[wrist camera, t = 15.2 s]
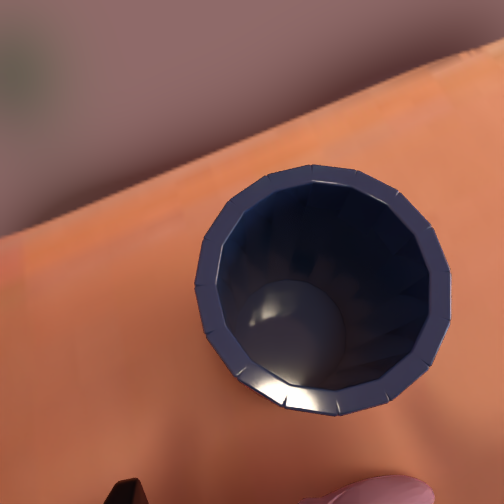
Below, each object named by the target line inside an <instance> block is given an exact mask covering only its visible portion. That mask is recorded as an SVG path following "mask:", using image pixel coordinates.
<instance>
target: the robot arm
mask: <svg viewBox="0 0 504 504" xmlns="http://www.w3.org/2000/svg"><path fill="white" fill-rule="evenodd" d="M104 504H149V503H148V500H147V498H146V495H145V492H144V490H143V487H142V485H141V482H140V480H139V479H138V478H131V479H126V480H121V481H118V482H117V483H116V484H115V485H114V487H113V488H112V490H111V492H110V494H109V495H108V497H107V499H106V500H105V502H104Z"/></svg>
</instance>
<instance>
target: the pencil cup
mask: <svg viewBox="0 0 504 504" xmlns="http://www.w3.org/2000/svg"><path fill="white" fill-rule="evenodd" d="M194 285H195V288H194V290H195V294H196V299H197V303H198V308H199V312H200V317H201V322H202V326H203V331H204V333H205V335H206V338H207V340H208V341H209V343H210V344H211V345H212V347H213V348H214V350H215V351H216V352H217V354H218V355H219V357H220V358H221V359H222V361H223V362H224V364H225V365H226V367H227V368H228V369H229V371H230V372H231V374H232V375H233V376H234V377H235V378H236V379H237V380H238V381H239V382H240V383H242V384H243V385H245V386H246V387H247V388H249V389H251V390H252V391H254V392H256V393H257V394H259V395H260V396H262V397H264V398H265V399H267V400H269V401H270V402H272V403H274V404H276V405H277V406H279V407H283V408H285V409H289V410H295V411H302V412H308V413H315V414H321V415H328V416H343V415H347V414H350V413H354V412H358V411H361V410H365V409H368V408H372V407H376V406H379V405H383V404H386V403H388V402H389V401H393V400H394V399H395V398H396V397H397V396H398V395H400V394H401V393H402V392H403V391H404V390H406V389H407V388H408V387H409V386H410V385H411V384H413V383H414V382H415V381H416V380H417V379H418V378H420V377H421V376H422V375H423V374H424V373H425V372H427V371H428V369H429V367H430V366H432V363H433V361H434V359H435V357H436V355H437V352H438V350H439V348H440V346H441V344H442V341H443V339H444V337H445V335H446V332H447V330H448V328H449V326H450V321H451V273H450V267H449V265H448V262H447V260H446V258H445V255H444V253H443V250H442V248H441V245H440V243H439V241H438V238H437V236H436V233H435V231H434V229H433V227H431V224H430V223H429V222H428V221H427V220H426V219H425V218H424V217H423V216H422V215H421V214H420V212H419V211H418V210H417V209H416V208H415V207H414V206H413V205H412V204H411V203H410V202H409V201H408V200H407V199H406V198H405V197H404V196H403V194H402V193H400V192H399V191H398V190H396V189H394V188H393V187H391V186H389V185H387V184H385V183H383V182H381V181H379V180H377V179H375V178H373V177H371V176H369V175H367V174H365V173H363V172H361V171H358V170H357V171H356V170H354V169H346V168H338V167H330V166H321V165H311V166H310V165H305V166H301V167H297V168H292V169H288V170H284V171H279V172H275V173H271V174H268V175H267V176H263V177H262V178H260V179H259V180H258V181H256V182H255V183H253V184H252V185H250V186H249V187H247V188H246V189H244V190H243V191H241V192H240V193H238V194H237V195H235V196H234V197H233V198H231V199H230V200H229V201H228V202H227V203H226V204H225V206H224V207H223V209H222V210H221V212H220V213H219V215H218V216H217V218H216V219H215V221H214V222H213V224H212V225H211V227H210V228H209V230H208V231H207V233H206V234H205V236H204V240H203V241H202V245H201V250H200V255H199V261H198V266H197V271H196V277H195V282H194Z"/></svg>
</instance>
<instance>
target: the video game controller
mask: <svg viewBox="0 0 504 504" xmlns="http://www.w3.org/2000/svg"><path fill="white" fill-rule="evenodd" d="M434 499H435V496H434V493H433V490H432V488H431V487H429V486H428V485H427V484H426V483H425V482H423V481H421V480H419V479H416V478H412V477H408V476H403V475H388V476H379V477H373V478H368V479H365V480H361V481H358V482H355V483H352V484H349V485H347V486H345V487H343V488H340V489H338V490H336V491H334V492H332V493H330V494H327V495H325V496H323V497H321V498H304V499H302V500H301V501H300V502H299V503H298V504H433V502H434Z"/></svg>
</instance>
